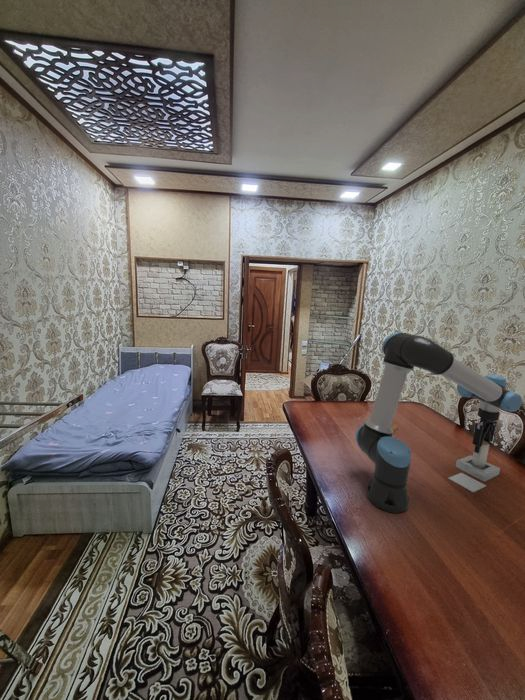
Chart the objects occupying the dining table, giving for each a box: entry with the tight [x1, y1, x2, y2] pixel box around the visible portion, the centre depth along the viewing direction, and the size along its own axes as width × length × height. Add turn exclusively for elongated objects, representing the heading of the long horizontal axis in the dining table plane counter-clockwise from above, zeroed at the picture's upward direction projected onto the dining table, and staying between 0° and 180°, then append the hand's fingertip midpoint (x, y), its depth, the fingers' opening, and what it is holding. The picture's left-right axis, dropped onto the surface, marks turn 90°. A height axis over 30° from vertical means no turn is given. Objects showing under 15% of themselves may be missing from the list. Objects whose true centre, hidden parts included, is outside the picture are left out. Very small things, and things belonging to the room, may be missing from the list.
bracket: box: [391, 422, 399, 434], centre depth 168 cm, size 18×8×7 cm, turn 133°
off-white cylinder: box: [471, 440, 490, 470], centre depth 130 cm, size 5×5×13 cm
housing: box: [455, 454, 501, 482], centre depth 131 cm, size 12×12×4 cm
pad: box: [447, 472, 487, 493], centre depth 122 cm, size 10×10×1 cm
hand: (479, 457), depth 130 cm, fingers closed on off-white cylinder, 5 cm apart
